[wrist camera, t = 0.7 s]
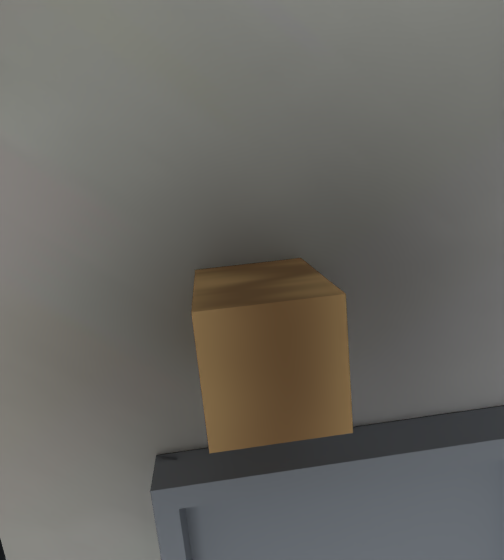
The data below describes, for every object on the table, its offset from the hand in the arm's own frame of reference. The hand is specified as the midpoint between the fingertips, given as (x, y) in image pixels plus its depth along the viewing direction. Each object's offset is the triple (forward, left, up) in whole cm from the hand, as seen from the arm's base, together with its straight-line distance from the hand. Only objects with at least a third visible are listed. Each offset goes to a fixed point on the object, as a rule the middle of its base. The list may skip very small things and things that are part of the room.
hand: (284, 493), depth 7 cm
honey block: (-1, +1, -13) cm, 13 cm away
